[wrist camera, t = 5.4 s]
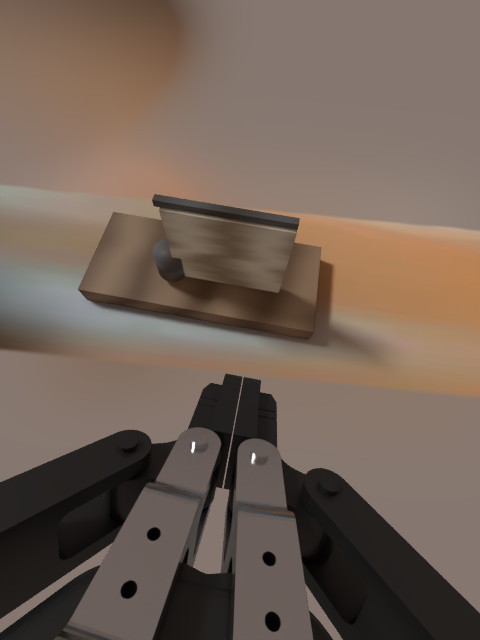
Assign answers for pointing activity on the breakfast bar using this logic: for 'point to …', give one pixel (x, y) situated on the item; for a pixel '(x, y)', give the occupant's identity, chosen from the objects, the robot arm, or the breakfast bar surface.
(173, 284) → the brown rectangular board
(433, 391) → the breakfast bar surface
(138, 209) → the breakfast bar surface
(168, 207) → the dark-edged wooden panel
